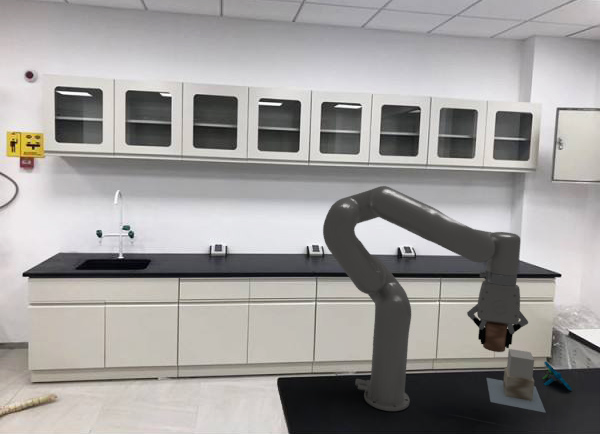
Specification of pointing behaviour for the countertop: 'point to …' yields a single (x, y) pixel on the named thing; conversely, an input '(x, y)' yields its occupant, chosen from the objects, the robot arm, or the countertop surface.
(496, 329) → the cylinder
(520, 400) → the mat
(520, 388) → the lower block
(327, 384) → the countertop surface
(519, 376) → the upper block
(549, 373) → the blue angular piece
